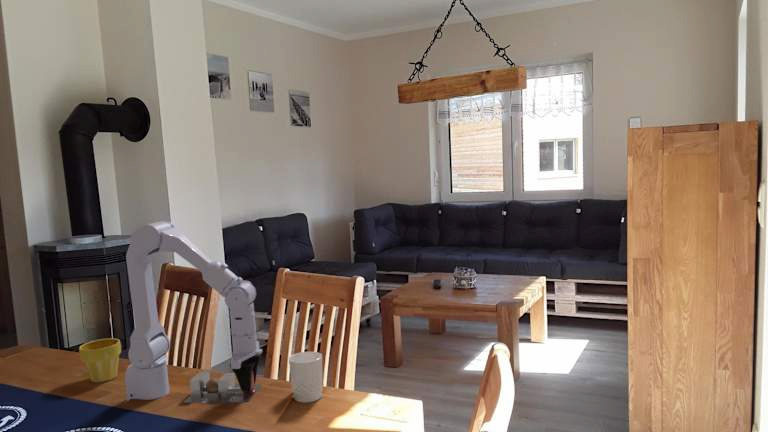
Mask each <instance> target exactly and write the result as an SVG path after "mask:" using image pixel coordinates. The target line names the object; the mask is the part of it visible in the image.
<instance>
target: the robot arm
mask: <svg viewBox="0 0 768 432" xmlns="http://www.w3.org/2000/svg"><path fill="white" fill-rule="evenodd" d="M130 239H131V240H130V243H129V246H128V249H127V251H126V255H125V259H126V267H127V268H126V269H127V275H128V284H129V290H130V298H131V304H132V311H133V320H134V329H133V331H132V333H131V336H130V338H129V340H130V341H129V342H130V346H129V350H128V353H127V354H128V359H129V361H130V364H129V365H128V366H127V368H126V370H125V373H124V383H125V395H126V402H129V401H131V400H143V401H144V400H148V401H149V400H156V399H160V398H163V397H165V396H167V395H168V394H169V393H170V384H169V383H170V382H169V374H168V373H169V371H168V363H167V353H168V352H169V350H170V348H171V342H170V338H169V337H168V335H167V334H166V331H165V327H164V326H163V325H162V323H160V321H159V315H158V307H157V305H158V304H157V299H156V290H155V283H154V276H153V275H154V274H153V267H152V260H153V258H154V257H155V256H156V255H157V254H158V253H159V252H163V253H164V252H166V253H167V252H168V253H169V252H170V253H176V255H178V256H180V257H181V258H182V259H184V260H185V261H186V262H187V263H189V264H190V265H192V266H193V267H194V268H196V269H197V271H200V272H201V275H202V280H203V281H204V282H205V283H206V284H207V285H209V286H210V287H211V288H213V290H214V291H215V292H217V293H218V294H219V295H220V296H221V297H222V298H224V303H225V305H226V306H227V308H229V317H230V327H231V328H230V329H231V331H230V332H231V341H232V353H231V357H232V358H231V360H230V363H229V366H230V369H231V371H233V372H232V373H235V378H236V380H237V381H238V384H239V385H240V388H241V390H242V391H249V390H250V389H251V378H252V371H253V375H254V385H255V384H256V381H257V373H258V367H259V364H260V360H261V359H262V353H263V349H262V348H260V341H259V340H258V339H257V328H256V327H257V325H256V315H255V314H256V313H255V305H254V304H255V303H254V300H255V299H256V297H257V289H256V287H255V286H254V285H253V283H252V282H251V281H249V280H243V278H242V277H241V276H237V275H236V274H235V273H234V272H233V271H231V270H230V269H229V268H228V267H229V265H228V264H226V263H225V262H223V263H222V262H221V261H212V260H211V259H210V258H209V257H208V256H206V254H204V253H203V252H202V251H201V250H200V249H199V248H198V247H197V246H196V245H195V244H194V242H192V241H191V240H190V239H188V238H187V236H185V235H184V233H183V232H182V230H181V229H180V228H179V227H177V226H175V225H174V224H173V223H172V222H170V221H169V220H165V219H162V220H158V221H156V222H155V221H154V222H152V223H148V224H147V223H146V224H145V223H144V224H142V225H140V226H138V227H137V228H136V229H135V230H134V231H133V232H132V233H131V234H130Z"/></svg>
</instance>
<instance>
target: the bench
mask: <svg viewBox="0 0 768 432" xmlns="http://www.w3.org/2000/svg"><path fill="white" fill-rule="evenodd" d="M210 376H211V374H210V370H209V371H207V370H204V371H201V370H200V371H199V372H197V374H195V375H194V376H193V377H191V378H190V380H189V389H190V395H189V396H188V397H186V399H185V400H184V401H182V403H183V404H184V403H185V404H187V403H188V404H189V403H192V404H193V403H196V404H198V403H199V404H200V403H206V404H207V403H249V402H250V401H251V400H252V398H253V397H254V396H255V394H256V393H257V392H259V391H258V390H260V388H261V387H262V385H263V383H255V385H254V387H255V391H254V392H253V393H250V394H244V393H243V392H231V390H230V391H229V392H227V393H219V391H218V392H215V393H209V392H208V391H207V390H206V383H207V382H208V381H209V380H210V379H211V377H210ZM234 387H240V385H239V383H235V386H234Z"/></svg>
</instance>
